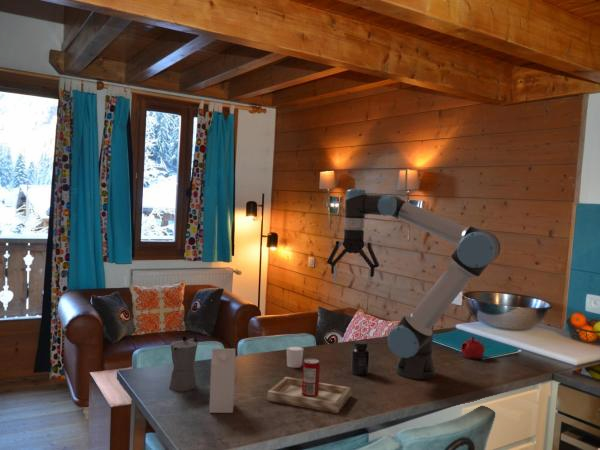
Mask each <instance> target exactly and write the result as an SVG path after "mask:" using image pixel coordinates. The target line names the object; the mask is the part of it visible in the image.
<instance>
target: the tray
mask: <svg viewBox="0 0 600 450" xmlns="http://www.w3.org/2000/svg"><path fill="white" fill-rule="evenodd" d="M266 394H267V396H266V397H267V399H266V400H267V401H269V402H273V403H274V402H275V403H278V404H279V403H280V404H284V405H290V406H296V407H300V408H306V409H312V410H316V411H317V410H318V411H323V412H328V413H332V414H338V413H340V411H341V410H342V408H344V406H345V404H347V402H348V400H349V399H350V398H351V395H352V387H350V386H349V387H348V386H344V385H343V386H342V385H336V384H331V383H326V382H325V383H324V382H320V381H319V391H318V395H317V397H315V398H310V397H304V396H303V395H302V378H301V379H300V378H295V377H289V376H284V377H283V378H282V379H281V380H279V382H277V383H276V384H275V385H273V386H272V387H271V388H270V389H269V390H268V391H267V393H266Z"/></svg>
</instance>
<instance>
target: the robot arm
mask: <svg viewBox="0 0 600 450" xmlns="http://www.w3.org/2000/svg"><path fill="white" fill-rule="evenodd" d="M344 203H345V207H344V208H345V209H344V210H345V211H344V213H345V214H344V228H345V229H344V231H343V232H344V234H343V235H344V236H343V241H341V240H336V241H335V243H334V244H335V245H334V248H333V249H332V252H331V253H330V255H329V257H328V258H327V261H326V264H327V265H330V267H331V270H330V273H331V274H332V275H333V279H332V280H333V284H336V283H337V281H338V265H337V263H338V262H340V260H341V259H342V258H343V257H344V256H345V255H346V254H347V253H349V254H356V255H357V254H359V255H360V256H361V257H362V259H363V260H364V261H365V263H366V264H367V265H368V267H369V268H368V271H367V277H368V278H367V286H371V285H372V278H374V276H375V269H376V268H379V267H380V262H379V261H378V259H377V256H376V254H375V251H374V250H373V244H372V242H364V241H365V240H364V239H365V238H364V237H365V230H363V229H365V215H374V216H383V217H384V216H386V217H387V216H391V217H393V218H395V219H398V220H400V221H403V222H404V223H407V224H409V225H411V226H414V227H416V228H418V229H419V230H422V231H424V232H426V233H429V234H430V235H432V236H435V237H438V238H441V239H442V240H445V241H447V242H449V243H451V244H454V245H456V246H457V247H456V249H455V250H454V251H453V253H452V254H451V255H450V261H451V262H450V264H449V265H448V267H447V268H445V270H444V271H443V273H442V274H441V275H440V276H439V277H438V279H437V280H436V281H435V283H434V284H433V285H432V287H431V288H430V289H429V291H428V292H427V293H426V295H425V296H424V297H423V298H422V300H421V301H420V302H419V303H418V305H417V306H416V307H415V308H414V310H413V311H412V312H406V313H405V314H403V317H402V318H401V320H399V322H398V323H397V325H395V326H394V327H392V328H391V329H390V330H389V332H388V334H387V339H386V340H387V346H388V347H389V350H390V352H392V353H393V354H394V355H395V356H398V357H399V358H398V361H397V362H396V367H395V372H396V373H397V375H400V377H404V378H408V379H413V380H431V379H434V378H435V377H436V373H437V371H436V366H435V363H434V358H433V343H434V342H433V341H434V340H433V339H434V328H435V327H434V326H435V324H436V323H437V322H438V320H439V319H440V318H441V317H442V316H443V314H444V313H445V312H446V310H447V309H448V308H449V307H451V306H450V305H451V304H452V303H453V302H454V301H455V299H456V298H457V297H458V296H459V295H460V293H461V292H462V291H463V289H465V287H466V286H467V285H468V283H469V282H470V281H471V280H472V279H473V278H479V277H480V276H481V275H482V273H483V272H484V271H485V270H486V268H487V267H488V266H489V265H490V263H492V262H494V261H495V260H496V259H497V258H498V257H499V255H500V252H501V243H500V240H499V239H498V238H497V236H496V235H495V234H494V233H492V232H489V231H486V230H482V229H479V228H478V227H477V228H476V227H474V226H472V225H470V226H464V225H462V224H460V223H457V222H455V221H452V220H450V219H448V218H446V217H443V216H441V215H439V214H436V213H434V212H432V211H429V210H427V209H425V208H422V207H420V206H417V205H415V204H412V203H410V202H408V201H406V200H403V199H402V198H401V197H399V196H396V195H389V194H366V190H365V189H355V188H350V189H347V190H346V193H345V201H344ZM341 246H343V248H344V249H343V250H342V251H341V252H340V253H339V255H337V257H336V258H335V256H336V254H337V252H338V250H339V249H340V247H341ZM364 247H365V248H366V249H367V250H368V253H369V255H370V258H371V259H370V258H369V256H368V255H367V254H366V253H365V251H364V250H363V248H364ZM334 258H335V259H334Z"/></svg>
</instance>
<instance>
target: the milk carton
mask: <svg viewBox="0 0 600 450" xmlns="http://www.w3.org/2000/svg"><path fill="white" fill-rule="evenodd" d="M211 351H212V353H211V359H210V360H211V361H210V362H211V363H210V384H209V387H210V388H209V409H208V410H209V411H208V413H210V414H211V413H213V414H216V413H217V414H218V413H219V414H220V413H221V414H233V412H234V406H235V405H234V404H235V383H236V382H235V381H236V379H235V377H236V348H212V349H211Z"/></svg>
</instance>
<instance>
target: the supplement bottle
mask: <svg viewBox="0 0 600 450" xmlns="http://www.w3.org/2000/svg"><path fill="white" fill-rule="evenodd" d="M353 347H354V348H353V349H351V366H350V372H351V374H353V375H355V376H367V375H368V374H369V373H370V372H369V371H370V350H369V349H368V342H366V341H362V340H358V341H357V340H356V341H355V342H354V346H353Z"/></svg>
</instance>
